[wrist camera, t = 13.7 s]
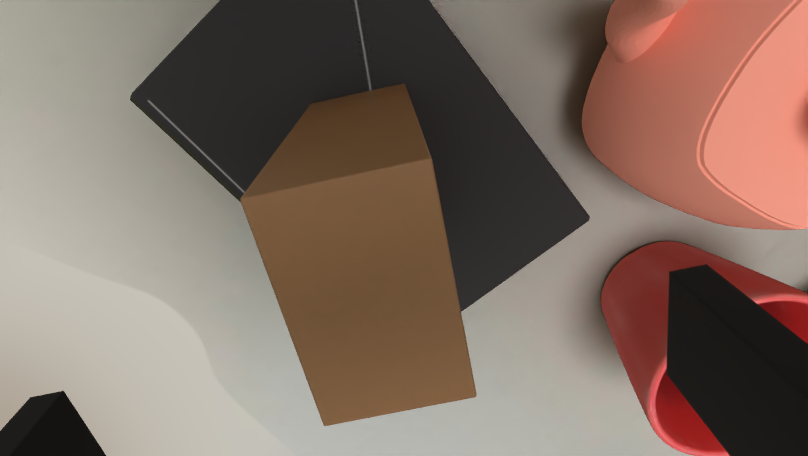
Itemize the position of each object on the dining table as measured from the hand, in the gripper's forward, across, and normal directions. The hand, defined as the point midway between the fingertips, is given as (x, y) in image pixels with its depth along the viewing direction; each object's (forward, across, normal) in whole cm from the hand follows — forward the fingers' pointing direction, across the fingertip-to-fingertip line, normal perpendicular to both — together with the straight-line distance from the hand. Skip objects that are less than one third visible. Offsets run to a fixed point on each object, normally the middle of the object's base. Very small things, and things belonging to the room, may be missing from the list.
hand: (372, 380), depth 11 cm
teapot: (+21, +18, +1) cm, 27 cm away
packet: (+17, 0, 0) cm, 17 cm away
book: (+21, 0, 0) cm, 21 cm away
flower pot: (+21, +17, -14) cm, 30 cm away
